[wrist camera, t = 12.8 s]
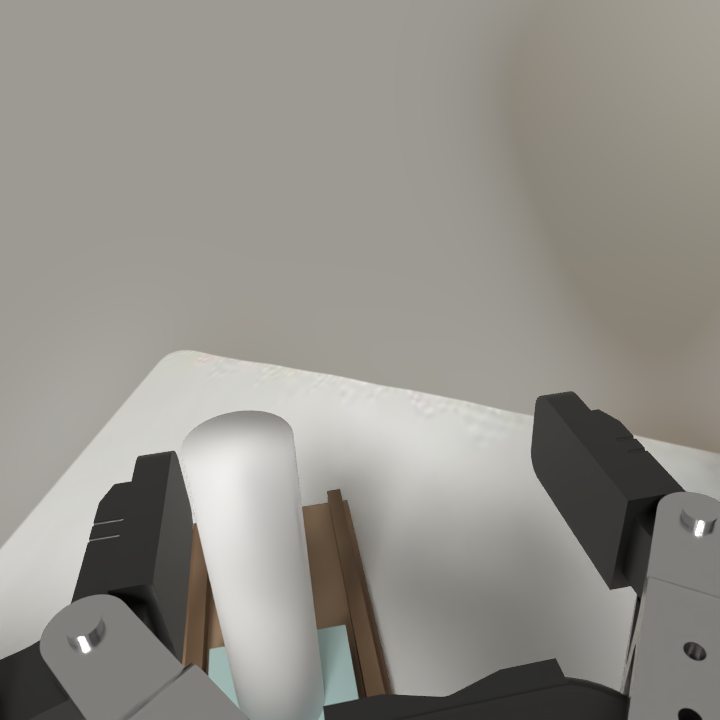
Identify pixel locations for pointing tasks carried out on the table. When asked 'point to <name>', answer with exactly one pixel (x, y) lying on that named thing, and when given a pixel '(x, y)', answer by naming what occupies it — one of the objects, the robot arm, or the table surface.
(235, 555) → the keeper
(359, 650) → the rail board
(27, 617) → the table surface
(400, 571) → the table surface
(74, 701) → the robot arm
